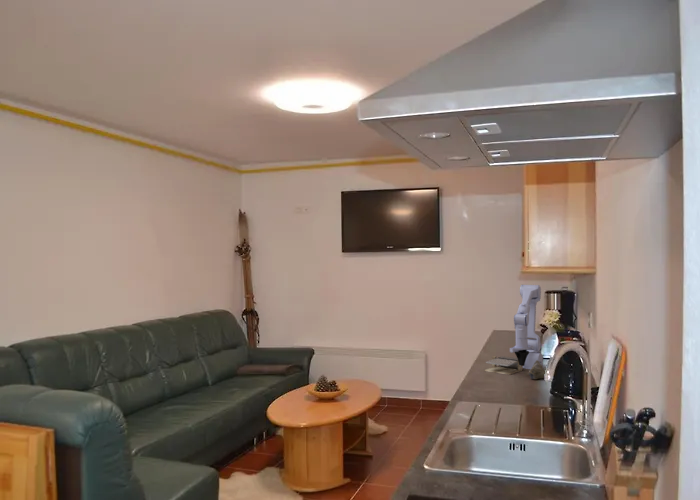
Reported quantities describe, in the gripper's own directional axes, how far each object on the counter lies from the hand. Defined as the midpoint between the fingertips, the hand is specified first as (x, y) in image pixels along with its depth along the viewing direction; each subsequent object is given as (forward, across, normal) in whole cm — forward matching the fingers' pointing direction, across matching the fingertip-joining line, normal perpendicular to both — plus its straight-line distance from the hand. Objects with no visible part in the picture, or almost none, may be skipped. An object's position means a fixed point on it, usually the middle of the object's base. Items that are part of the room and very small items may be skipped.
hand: (521, 365), depth 269 cm
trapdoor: (0, -5, -14) cm, 15 cm away
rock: (-2, 0, +5) cm, 5 cm away
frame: (+5, -5, -14) cm, 16 cm away
